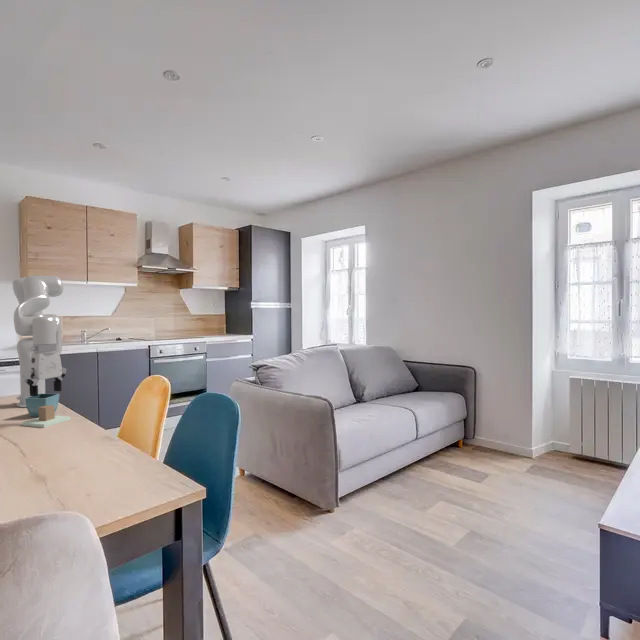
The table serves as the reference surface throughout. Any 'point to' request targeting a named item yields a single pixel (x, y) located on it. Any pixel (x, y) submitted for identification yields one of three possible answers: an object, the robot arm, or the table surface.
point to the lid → (46, 418)
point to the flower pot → (41, 403)
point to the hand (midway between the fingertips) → (46, 393)
